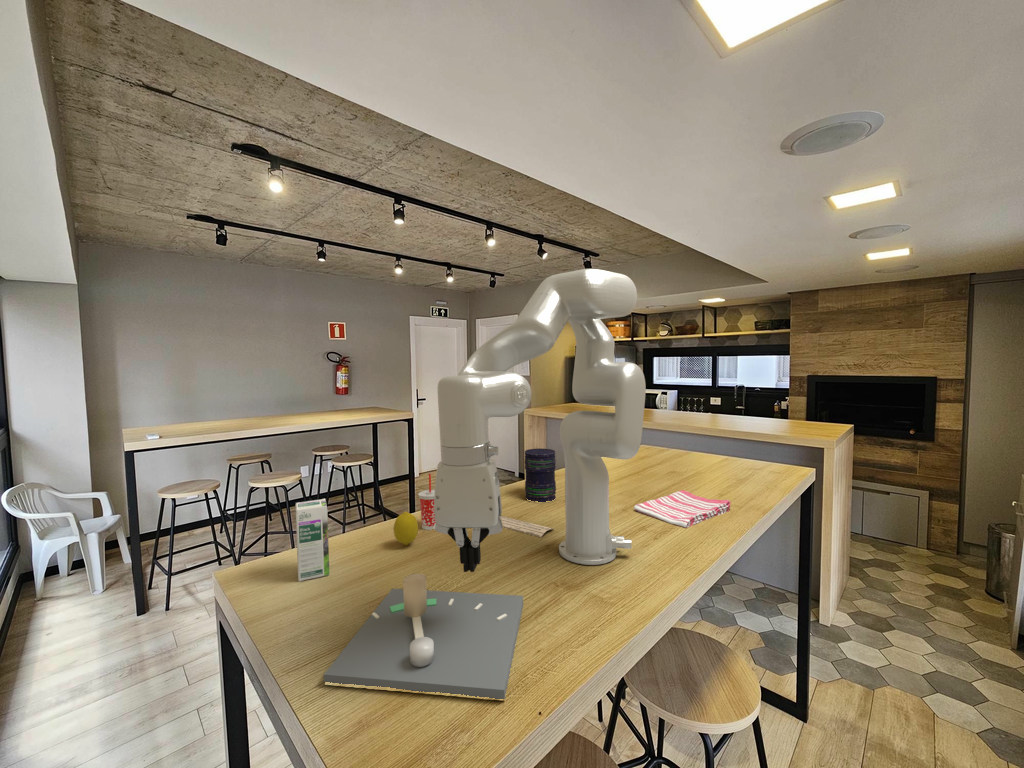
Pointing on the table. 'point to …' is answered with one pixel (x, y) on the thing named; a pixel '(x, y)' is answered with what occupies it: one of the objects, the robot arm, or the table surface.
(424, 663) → the tuning lever
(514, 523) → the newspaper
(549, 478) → the storage jar
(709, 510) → the dish towel
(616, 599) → the table surface
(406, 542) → the lemon
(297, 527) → the syrup box
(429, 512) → the beverage cup
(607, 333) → the robot arm
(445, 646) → the dial board
